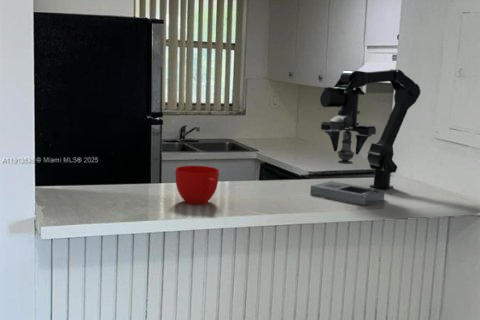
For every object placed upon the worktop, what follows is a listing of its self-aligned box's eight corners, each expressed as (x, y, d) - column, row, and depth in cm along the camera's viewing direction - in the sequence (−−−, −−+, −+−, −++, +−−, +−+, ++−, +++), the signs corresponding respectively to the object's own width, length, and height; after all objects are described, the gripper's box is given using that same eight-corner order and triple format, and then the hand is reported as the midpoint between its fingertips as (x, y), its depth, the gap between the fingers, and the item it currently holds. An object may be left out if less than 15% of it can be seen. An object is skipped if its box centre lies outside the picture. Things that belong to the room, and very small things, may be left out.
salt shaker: (353, 161, 209) (356, 127, 208) (354, 164, 204) (356, 129, 202) (336, 160, 210) (339, 126, 208) (336, 163, 204) (339, 128, 203)
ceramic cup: (193, 212, 168) (194, 177, 166) (167, 199, 182) (168, 166, 180) (232, 208, 175) (234, 174, 173) (204, 196, 189) (205, 164, 187)
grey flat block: (330, 189, 208) (331, 180, 207) (383, 199, 195) (384, 190, 195) (310, 194, 198) (310, 185, 197) (364, 205, 185) (365, 196, 185)
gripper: (313, 106, 204) (310, 151, 206) (361, 110, 192) (357, 158, 194) (331, 105, 212) (327, 148, 215) (378, 109, 200) (374, 155, 203)
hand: (346, 152), depth 206 cm, fingers closed on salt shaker, 8 cm apart
